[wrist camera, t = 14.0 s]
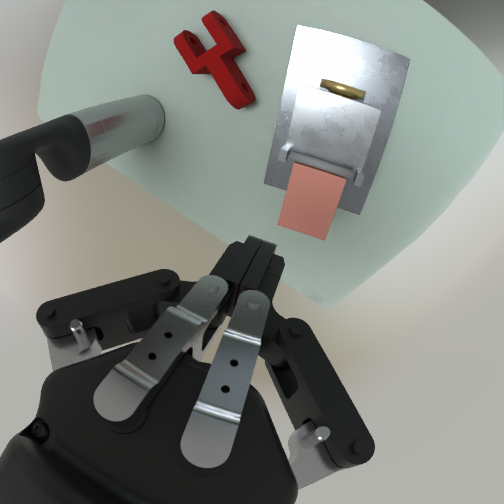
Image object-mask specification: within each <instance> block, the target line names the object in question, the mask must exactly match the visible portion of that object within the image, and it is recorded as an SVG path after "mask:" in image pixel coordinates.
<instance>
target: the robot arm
mask: <svg viewBox="0 0 504 504" xmlns="http://www.w3.org/2000/svg"><path fill="white" fill-rule="evenodd" d="M163 127H164V112H163V109H162V106H161V105H160V103H159V102H158V101H157V100H156V99H155V98H153V97H152V96H149V95H141V96H135V97H130V98H125V99H121V100H116V101H112V102H108V103H104V104H100V105H97V106H93V107H90V108H86V109H83V110H80V111H77V112H73V113H70V114H67V115H64V116H62V117H59V118H56V119H54V120H51V121H49V122H46V123H44V124H41V125H38V126H36V127H33V128H30V129H28V130H25V131H22V132H19V133H17V134H14V135H12V136H9V137H6V138H4V139H2V140H0V243H1V242H2V241H4V240H5V239H7V238H8V237H10V236H11V235H12V234H14V233H15V232H17V231H18V230H20V229H21V228H22V227H24V226H25V225H26V224H28V223H29V222H30V221H31V220H33V218H35V217H36V216H37V215H38V213H39V212H40V211H41V210H42V208H43V206H44V202H45V198H44V192H43V188H42V184H41V179H40V175H39V171H38V166H37V162H36V158H35V153H36V154H37V155H38V156H39V157H40V158H41V160H42V161H43V162H44V164H45V166H46V167H47V169H48V170H49V171H50V173H51V174H52V175H53V176H54V177H55V178H57V179H59V180H61V181H70V180H73V179H75V178H76V177H78V176H80V175H82V174H84V173H86V172H88V171H89V170H91V169H93V168H95V167H97V166H99V165H101V164H103V163H105V162H107V161H109V160H111V159H113V158H115V157H117V156H119V155H121V154H123V153H125V152H128V151H130V150H132V149H134V148H137V147H139V146H141V145H144V144H146V143H148V142H151V141H153V140H154V139H156V138H157V137H158V136H159V135H160V133H161V132H162V129H163ZM276 246H277V244H274V243H271V242H268V241H265V240H262V239H259V238H256V237H253V236H250V235H249V236H248V238H247V239H246V241H245V243H241V242H238V241H236V242H234V243H232V244H230V245H229V246H228V248H227V249H226V251H225V253H223V255H222V257H221V258H220V259H219V261H218V262H217V264H216V265H215V267H214V268H213V270H212V271H211V273H210V274H209V275H207V276H204V277H202V278H201V279H199V281H197V282H188V281H180V279H179V276H178V275H177V273H175V272H174V271H172V270H169V269H160V270H157V271H153V272H149V273H146V274H142V275H138V276H135V277H131V278H128V279H124V280H121V281H117V282H113V283H110V284H106V285H103V286H99V287H96V288H92V289H89V290H85V291H82V292H78V293H75V294H72V295H68V296H64V297H61V298H57V299H54V300H50V301H47V302H45V303H43V304H42V305H41V306H40V307H39V309H38V311H37V314H36V319H37V321H38V323H39V325H40V326H41V328H42V330H43V332H44V334H45V336H46V337H47V340H48V347H49V353H50V358H51V363H52V369H53V372H52V373H51V374H50V375H49V376H48V377H47V378H46V380H45V381H44V383H43V386H42V390H41V397H40V403H39V408H38V411H37V414H36V417H35V419H34V420H33V421H32V423H31V424H30V425H28V426H27V427H26V428H25V429H24V430H22V431H21V432H19V433H18V434H16V435H15V436H14V437H13V438H12V439H11V440H10V441H9V443H8V445H7V447H6V448H5V450H4V451H3V453H2V455H1V457H0V504H294V503H295V501H296V498H297V494H298V489H301V488H303V487H305V486H307V485H310V484H312V483H314V482H316V481H318V480H320V479H322V478H324V477H327V476H328V475H331V474H332V473H334V472H337V471H340V470H344V469H347V468H351V467H354V466H357V465H360V464H363V463H366V462H367V461H369V460H370V459H371V457H372V456H373V454H374V450H375V444H374V440H373V438H372V436H371V435H370V433H369V431H368V429H367V427H366V426H365V424H364V422H363V420H362V418H361V417H360V415H359V413H358V411H357V409H356V407H355V406H354V404H353V402H352V400H351V399H350V397H349V395H348V393H347V391H346V390H345V388H344V386H343V384H342V383H341V381H340V379H339V377H338V375H337V374H336V372H335V370H334V368H333V366H332V365H331V363H330V361H329V359H328V358H327V356H326V354H325V352H324V351H323V349H322V347H321V345H320V344H319V342H318V340H317V339H316V337H315V335H314V333H313V331H312V330H311V328H310V326H309V325H308V324H307V323H306V322H305V321H303V320H301V319H298V318H288V319H285V318H283V317H282V316H280V315H279V314H278V313H277V312H276V311H275V309H274V307H273V304H272V300H273V297H274V294H275V291H276V288H277V286H278V283H279V280H280V277H281V274H282V272H283V269H284V266H285V263H284V259H283V257H281V256H278V255H275V254H274V253H275V250H276ZM226 315H227V316H230V317H231V319H230V322H229V324H228V327H227V329H226V330H225V331H224V333H223V336H222V338H221V341H220V343H219V346H218V349H217V351H216V354H215V357H214V359H213V362H212V364H209V363H204V362H201V360H202V357H203V355H204V353H205V352H206V350H207V349H208V347H209V346H210V344H211V342H212V341H213V339H214V338H215V336H216V335H217V333H218V332H219V330H220V328H221V326H222V323H223V321H224V319H225V317H226ZM140 338H142V339H141V341H140V342H136V343H132V344H129V345H126V346H123V347H120V348H118V349H115V350H112V351H109V352H106V353H104V354H101V351H102V350H105V349H109V348H112V347H115V346H118V345H122V344H124V343H127V342H131V341H134V340H137V339H140ZM100 354H101V355H100ZM258 355H259V356H260V357H262V358H263V359H265V364H266V367H267V369H268V371H269V374H270V376H271V378H272V381H273V383H274V385H275V387H276V389H277V392H278V394H279V396H280V398H281V400H282V403H283V405H284V407H285V409H286V411H287V413H288V416H289V418H290V420H291V422H292V424H293V426H294V428H295V430H296V431H294V432H293V433H292V434H291V436H290V437H289V440H288V446H289V449H290V458H289V460H288V459H287V456H286V454H285V452H284V449H283V447H282V444H281V442H280V439H279V437H278V434H277V432H276V429H275V427H274V424H273V422H272V419H271V417H270V414H269V412H268V409H267V407H266V404H265V402H264V400H263V398H262V396H261V395H260V394H259V392H258V391H257V390H256V389H255V388H254V387H253V386H252V385H251V384H250V381H251V378H252V375H253V371H254V368H255V364H256V360H257V357H258Z"/></svg>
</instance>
